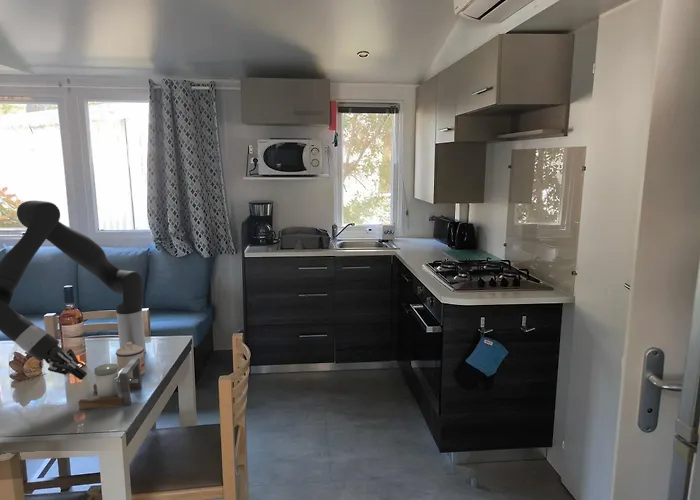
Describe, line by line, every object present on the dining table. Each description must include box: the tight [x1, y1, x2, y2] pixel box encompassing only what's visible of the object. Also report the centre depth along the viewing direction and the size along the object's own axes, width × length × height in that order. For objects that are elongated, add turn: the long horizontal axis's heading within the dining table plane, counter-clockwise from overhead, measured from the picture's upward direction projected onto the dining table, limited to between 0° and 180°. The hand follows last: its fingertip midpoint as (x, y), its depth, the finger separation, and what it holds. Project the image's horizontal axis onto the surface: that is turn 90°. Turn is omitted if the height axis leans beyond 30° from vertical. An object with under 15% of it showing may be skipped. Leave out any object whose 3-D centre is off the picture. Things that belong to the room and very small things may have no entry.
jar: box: [93, 363, 119, 398], centre depth 154 cm, size 7×7×10 cm
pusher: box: [113, 368, 138, 397], centre depth 155 cm, size 9×6×8 cm, turn 7°
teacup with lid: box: [115, 342, 146, 380], centre depth 173 cm, size 12×9×12 cm
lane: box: [78, 357, 143, 410], centre depth 154 cm, size 13×14×10 cm
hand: (84, 376), depth 153 cm, fingers closed
